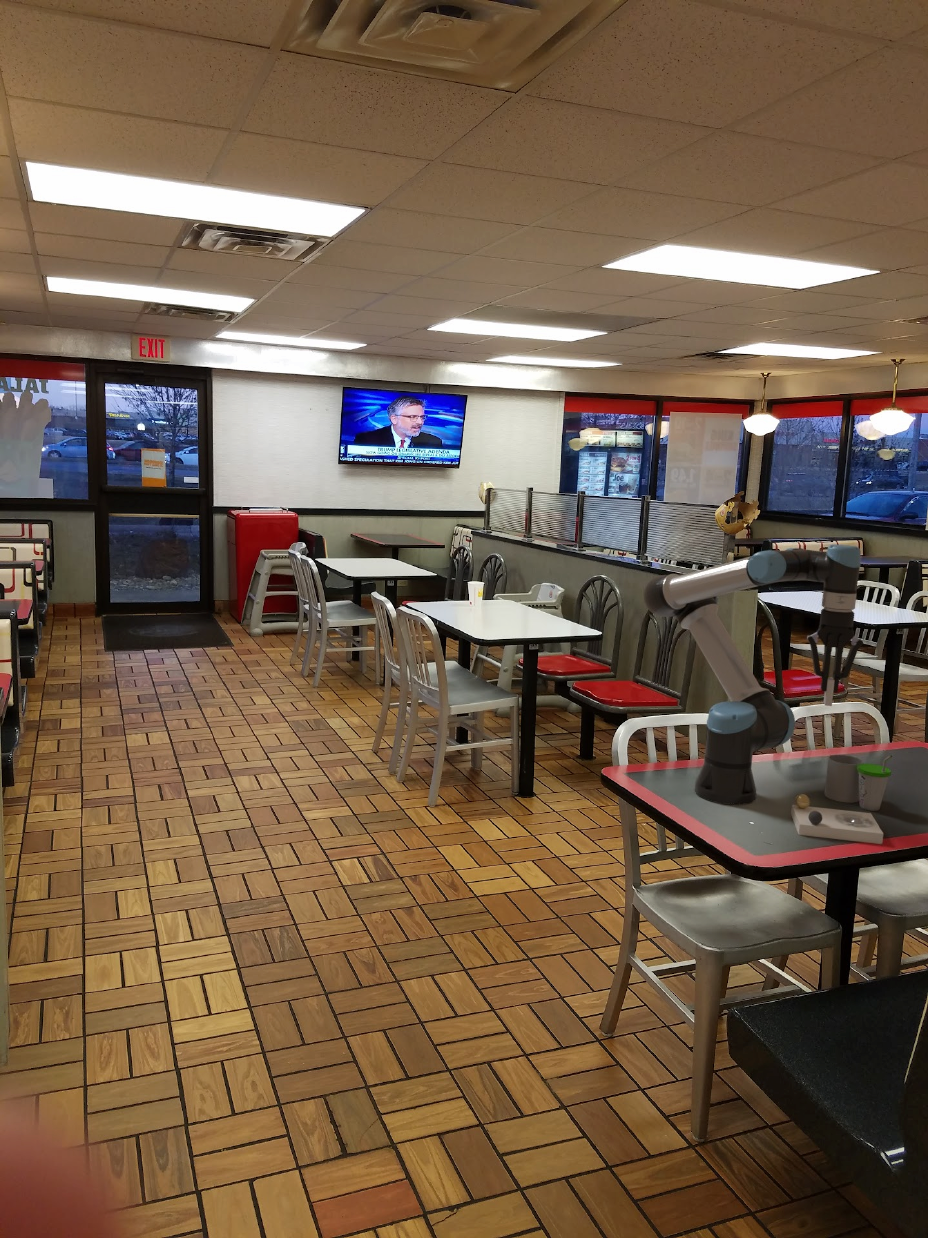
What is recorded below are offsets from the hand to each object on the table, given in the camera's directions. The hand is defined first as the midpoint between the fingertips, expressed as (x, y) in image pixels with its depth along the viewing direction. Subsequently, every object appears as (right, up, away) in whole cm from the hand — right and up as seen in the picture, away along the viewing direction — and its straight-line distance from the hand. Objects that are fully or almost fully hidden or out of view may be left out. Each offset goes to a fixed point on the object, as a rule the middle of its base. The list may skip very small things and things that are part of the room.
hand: (827, 704), depth 228 cm
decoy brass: (-8, -23, -4) cm, 25 cm away
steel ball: (+2, -27, -11) cm, 29 cm away
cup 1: (+9, -25, +13) cm, 30 cm away
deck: (-2, -28, -10) cm, 30 cm away
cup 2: (+13, -27, +5) cm, 30 cm away
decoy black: (-8, -25, -14) cm, 30 cm away
